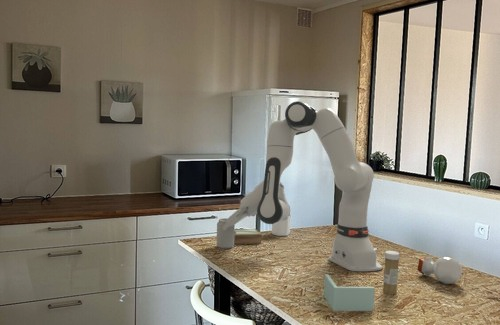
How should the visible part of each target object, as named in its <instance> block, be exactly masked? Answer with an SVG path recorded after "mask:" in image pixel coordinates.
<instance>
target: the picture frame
mask: <svg viewBox="0 0 500 325" xmlns="http://www.w3.org/2000/svg"><path fill="white" fill-rule="evenodd" d="M247 244H248V245H250V244H262V233H261V232H259V230H257V228H256V229H254V228H249V229H234V245H247Z"/></svg>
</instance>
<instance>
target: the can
mask: <svg viewBox="0 0 500 325" xmlns="http://www.w3.org/2000/svg"><path fill="white" fill-rule="evenodd" d="M227 219H228V217H227V218H220V219H218V222H217V224H216V247H218V248H219V249H224V250H228V249H232V248H233V247H234V246H235V244H234V230H235V225H236V224H235V225H233V226H230V227H228V228H227V229H226V230H224V229H223V228H222V227H223V226H224V225H225V224H226V223H227V221H226V220H227Z"/></svg>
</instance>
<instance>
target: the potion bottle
mask: <svg viewBox="0 0 500 325" xmlns="http://www.w3.org/2000/svg"><path fill="white" fill-rule="evenodd" d="M417 271H418V272H419V273H421V275H423V276H424V275H425V276H426V277H430V276H431V275H434V277H435V279H436V280H437V281H439V283H440V282H441V283H442V284H444V285H451V284H452V285H453V284H454V285H455V283H457V282H458V281H459V280H460V279H461V277H462V274H463V268H462V266H461V264H460V262H459V260H458V259H455V258H453V257H451V256H442V257H439V258H437V259H436V261H434V260H433V258H432V257H428V258H426V257H425V258H420V259H419V260H418V264H417Z"/></svg>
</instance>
